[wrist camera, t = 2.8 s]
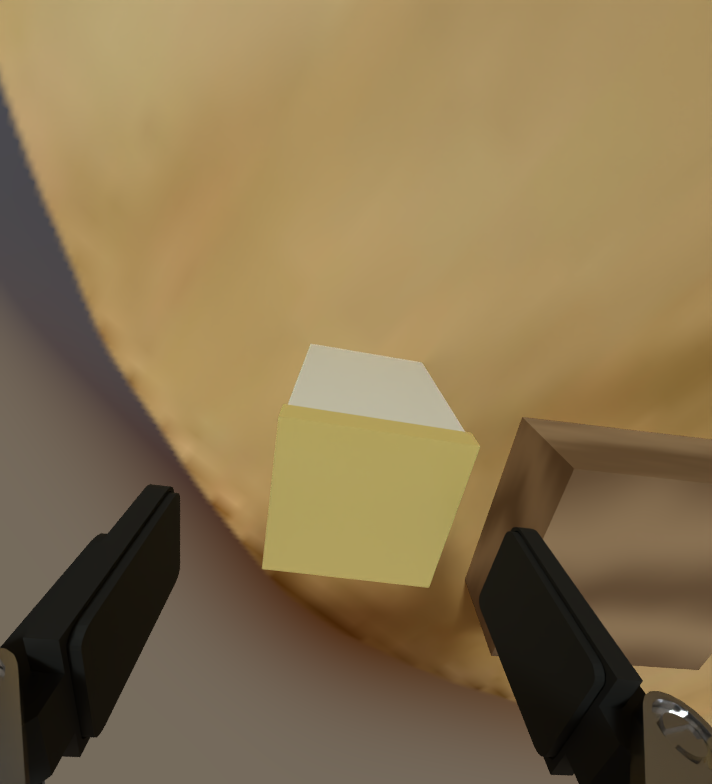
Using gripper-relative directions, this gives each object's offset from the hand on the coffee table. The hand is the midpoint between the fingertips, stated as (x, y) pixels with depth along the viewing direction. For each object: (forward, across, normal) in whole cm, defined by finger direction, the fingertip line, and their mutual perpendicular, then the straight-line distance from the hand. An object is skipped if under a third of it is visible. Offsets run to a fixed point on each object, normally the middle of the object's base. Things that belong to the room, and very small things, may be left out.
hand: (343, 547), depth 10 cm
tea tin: (+9, -1, -1) cm, 9 cm away
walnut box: (+9, -16, +4) cm, 19 cm away
